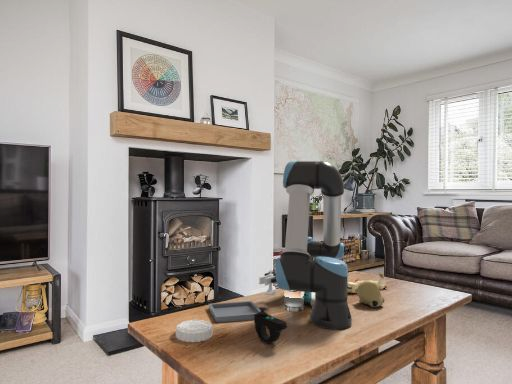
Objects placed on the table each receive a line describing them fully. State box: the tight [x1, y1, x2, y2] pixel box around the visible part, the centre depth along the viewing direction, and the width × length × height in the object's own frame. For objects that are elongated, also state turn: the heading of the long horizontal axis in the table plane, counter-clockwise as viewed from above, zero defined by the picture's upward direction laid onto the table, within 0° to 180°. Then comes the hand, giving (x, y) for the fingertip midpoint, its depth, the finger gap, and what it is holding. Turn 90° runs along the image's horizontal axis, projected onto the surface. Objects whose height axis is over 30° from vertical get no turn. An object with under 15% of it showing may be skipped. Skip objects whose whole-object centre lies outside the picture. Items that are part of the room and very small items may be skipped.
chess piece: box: [264, 269, 277, 296], centre depth 152 cm, size 5×5×10 cm
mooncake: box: [175, 319, 214, 343], centre depth 120 cm, size 12×12×4 cm
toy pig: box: [355, 279, 385, 308], centre depth 157 cm, size 10×12×11 cm
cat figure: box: [347, 272, 388, 294], centre depth 180 cm, size 10×9×25 cm
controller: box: [253, 307, 288, 344], centre depth 115 cm, size 4×12×10 cm, turn 43°
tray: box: [208, 300, 261, 324], centre depth 142 cm, size 16×18×2 cm
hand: (262, 281), depth 147 cm, fingers closed on chess piece, 2 cm apart
